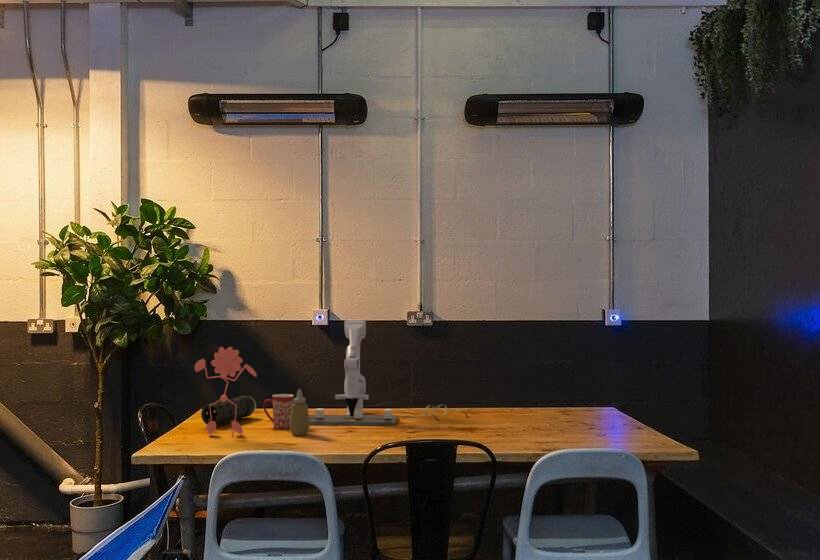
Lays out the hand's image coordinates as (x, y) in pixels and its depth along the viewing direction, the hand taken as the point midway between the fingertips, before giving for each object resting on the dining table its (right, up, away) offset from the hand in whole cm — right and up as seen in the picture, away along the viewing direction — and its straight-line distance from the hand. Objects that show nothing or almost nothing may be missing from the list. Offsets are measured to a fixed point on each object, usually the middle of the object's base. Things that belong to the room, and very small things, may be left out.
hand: (351, 415), depth 310 cm
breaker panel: (-1, -3, 0) cm, 3 cm away
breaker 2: (+16, -1, -1) cm, 16 cm away
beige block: (-14, -1, +1) cm, 14 cm away
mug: (-30, -2, -14) cm, 33 cm away
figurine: (-48, -2, -29) cm, 56 cm away
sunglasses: (+42, -4, +12) cm, 43 cm away
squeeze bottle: (-18, -2, -29) cm, 35 cm away
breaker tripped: (+3, -1, 0) cm, 3 cm away
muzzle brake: (-53, -3, -2) cm, 53 cm away
